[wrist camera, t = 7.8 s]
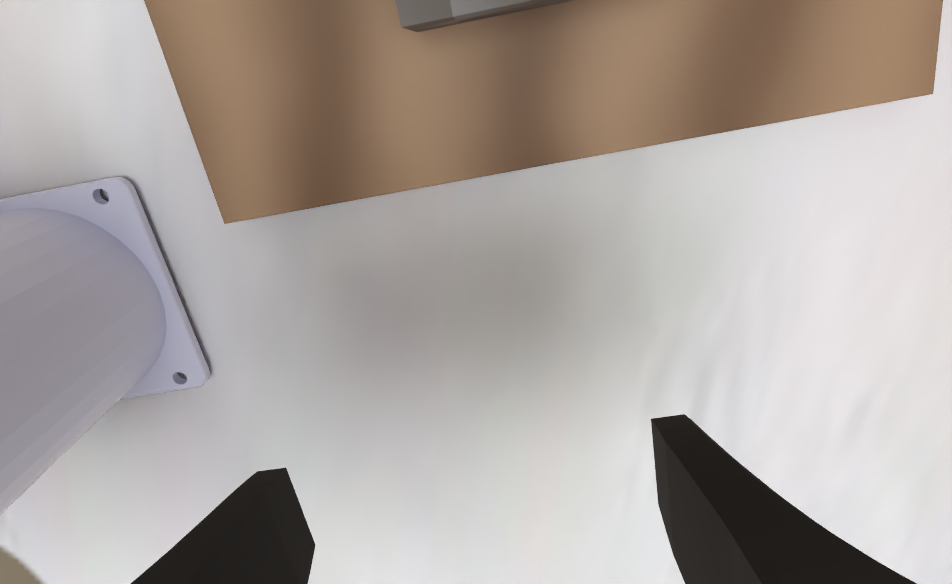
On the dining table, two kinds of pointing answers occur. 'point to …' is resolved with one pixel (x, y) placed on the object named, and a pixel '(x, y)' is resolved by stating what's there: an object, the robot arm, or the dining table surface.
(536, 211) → the dining table surface
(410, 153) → the stand base
